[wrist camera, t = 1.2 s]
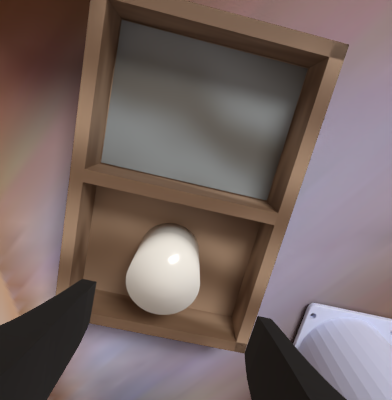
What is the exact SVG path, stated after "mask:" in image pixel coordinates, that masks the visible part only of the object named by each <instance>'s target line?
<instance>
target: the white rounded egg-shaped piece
mask: <svg viewBox="0 0 392 400" xmlns="http://www.w3.org/2000/svg"><path fill="white" fill-rule="evenodd" d="M126 287H127V291H128V293H129V295H130V297H131V299H132V300H133V301H134V302H135V303H136V304H137V305H138V306H139V307H140V308H142V309H144V310H146V311H148V312H150V313H154V314H159V315H169V314H175V313H178V312H180V311H182V310H184V309H186V308H187V307H188V306H190V305H191V304H192V303H193V301H194V300H195V299H196V297H197V295H198V292H199V288H200V264H199V245H198V242H197V239H196V238H195V236H194V235H193V233H192V232H191V231H190V230H188V229H187V228H185V227H184V226H182V225H179V224H175V223H163V224H159V225H156V226H154V227H153V228H151V229H150V230H149V231H148V232H147V233H146V234H145V235H144V237H143V239H142V241H141V243H140V245H139V247H138V249H137V252H136V254H135V256H134V258H133V260H132V262H131V264H130V266H129V269H128V271H127V274H126Z"/></svg>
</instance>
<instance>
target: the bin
mask: <svg viewBox="0 0 392 400" xmlns="http://www.w3.org/2000/svg"><path fill="white" fill-rule="evenodd" d="M348 46H349V44H345V43H341V42H337V41H334V40H330V39H326V38H323V37H319V36H315V35H312V34H308V33H304V32H300V31H297V30H293V29H289V28H286V27H282V26H278V25H275V24H271V23H267V22H264V21H260V20H256V19H252V18H249V17H245V16H241V15H238V14H234V13H230V12H227V11H223V10H219V9H216V8H212V7H208V6H204V5H201V4H197V3H193V2H190V1H186V0H90V8H89V16H88V25H87V33H86V42H85V50H84V59H83V67H82V76H81V84H80V93H79V101H78V110H77V118H76V127H75V135H74V144H73V152H72V161H71V169H70V178H69V186H68V195H67V203H66V212H65V220H64V229H63V237H62V246H61V254H60V263H59V271H58V280H57V288H56V295H58V294H59V293H61V292H62V291H64V290H66V289H67V288H69V287H70V286H72V285H73V284H75V283H76V282H78V281H80V280H81V279H86V280H91V281H96V282H97V283H96V289H95V295H94V300H93V306H92V312H91V318H90V322H89V323H91V324H96V325H101V326H106V327H111V328H117V329H122V330H127V331H132V332H137V333H142V334H147V335H153V336H158V337H163V338H168V339H173V340H178V341H183V342H189V343H194V344H199V345H204V346H209V347H214V348H219V349H225V350H230V351H235V352H240V353H244V352H245V349H246V346H247V343H248V340H249V337H250V335H251V332H252V329H253V326H254V323H255V320H256V317H257V314H258V311H259V308H260V305H261V302H262V299H263V296H264V293H265V290H266V288H267V285H268V282H269V279H270V276H271V273H272V270H273V267H274V264H275V261H276V258H277V255H278V252H279V249H280V246H281V243H282V240H283V238H284V235H285V232H286V229H287V226H288V223H289V220H290V217H291V214H292V211H293V208H294V205H295V202H296V199H297V196H298V193H299V190H300V188H301V185H302V182H303V179H304V176H305V173H306V170H307V167H308V164H309V161H310V158H311V155H312V152H313V149H314V146H315V143H316V140H317V138H318V135H319V132H320V129H321V126H322V123H323V120H324V117H325V114H326V111H327V108H328V105H329V102H330V99H331V96H332V93H333V91H334V88H335V85H336V82H337V79H338V76H339V73H340V70H341V67H342V64H343V61H344V58H345V55H346V52H347V49H348ZM163 223H175V224H179V225H182V226H184V227H185V228H187V229H188V230H190V231H191V232H192V233H193V235H194V236H195V238H196V239H197V242H198V245H199V264H200V288H199V292H198V295H197V297H196V299H195V300H194V301H193V303H192V304H191V305H190V306H188V307H187V308H186V309H184V310H182V311H180V312H178V313H175V314H169V315H159V314H154V313H150V312H148V311H146V310H144V309H142V308H140V307H139V306H138V305H137V304H136V303H135V302H134V301H133V300H132V299H131V297H130V295H129V293H128V291H127V287H126V274H127V271H128V269H129V266H130V264H131V262H132V260H133V258H134V256H135V254H136V252H137V249H138V247H139V245H140V243H141V241H142V239H143V237H144V235H145V234H146V233H147V232H148V231H149V230H150V229H151V228H153V227H154V226H156V225H159V224H163Z"/></svg>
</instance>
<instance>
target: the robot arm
mask: <svg viewBox="0 0 392 400" xmlns="http://www.w3.org/2000/svg"><path fill="white" fill-rule="evenodd" d="M96 283H97V282H96V281H91V280H86V279H81V280H80V281H78V282H76V283H75V284H73V285H72V286H70V287H69V288H67V289H66V290H64V291H62V292H61V293H59V294H58V295H56V296H54V297H53V298H51V299H49V300H48V301H46V302H45V303H43V304H41V305H39V306H38V307H36V308H34V309H32V310H30V311H29V312H27V313H25V314H23V315H21V316H19V317H17V318H15V319H13V320H11V321H9V322H7V323H5V324H2V325H0V400H47V398H48V397H49V395H50V393H51V392H52V390H53V388H54V387H55V385H56V383H57V382H58V380H59V378H60V376H61V375H62V373H63V371H64V370H65V368H66V366H67V365H68V363H69V361H70V360H71V358H72V356H73V355H74V353H75V351H76V350H77V348H78V346H79V344H80V342H81V340H82V338H83V336H84V334H85V331H86V329H87V327H88V325H89V322H90V318H91V312H92V306H93V300H94V295H95V289H96ZM312 313H314V315H312V316H310V315H311V314H312ZM245 364H246V373H247V380H248V385H249V390H250V394H251V399H252V400H392V319H389V318H385V317H380V316H375V315H370V314H365V313H361V312H356V311H351V310H346V309H342V308H337V307H332V306H327V305H322V304H318V303H311V304H310V305H309V306H308V307H307V310H306V312H305V315H304V317H303V320H302V323H301V325H300V328H299V330H298V333H297V335H296V338H295V340H294V343H293V344H292V342H291V341H290V340H289V339H288V338H287V337H286V335H285V334H284V333H283V332H282V331H281V330H280V328H279V327H278V326H277V325H276V324H275V323H274V322H273V321H272V320H271V319H269V318H264V317H260V316H258V317H257V320H256V322H255V325H254V328H253V331H252V334H251V337H250V339H249V342H248V345H247V348H246V351H245Z"/></svg>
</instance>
